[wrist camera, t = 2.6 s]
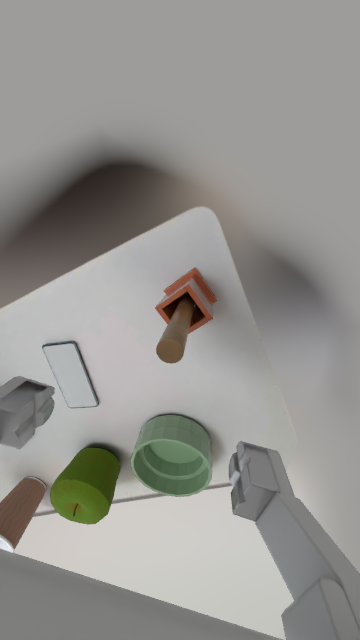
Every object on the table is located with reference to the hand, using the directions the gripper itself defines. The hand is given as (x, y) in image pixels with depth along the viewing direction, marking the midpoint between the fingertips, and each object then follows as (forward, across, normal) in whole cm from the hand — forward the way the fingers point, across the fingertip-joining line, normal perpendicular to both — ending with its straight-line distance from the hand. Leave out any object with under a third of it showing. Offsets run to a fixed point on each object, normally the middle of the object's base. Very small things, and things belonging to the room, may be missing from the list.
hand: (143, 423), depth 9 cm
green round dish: (+25, -5, +32) cm, 40 cm away
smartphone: (+25, +18, +22) cm, 38 cm away
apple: (+25, +10, +43) cm, 51 cm away
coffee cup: (+25, +28, +63) cm, 73 cm away
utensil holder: (+25, 0, 0) cm, 25 cm away
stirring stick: (+24, 0, 0) cm, 24 cm away
